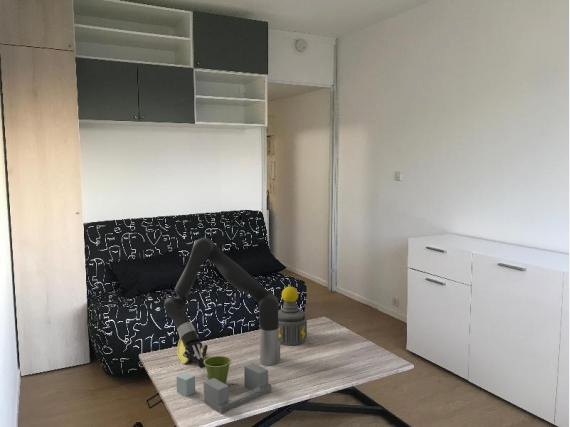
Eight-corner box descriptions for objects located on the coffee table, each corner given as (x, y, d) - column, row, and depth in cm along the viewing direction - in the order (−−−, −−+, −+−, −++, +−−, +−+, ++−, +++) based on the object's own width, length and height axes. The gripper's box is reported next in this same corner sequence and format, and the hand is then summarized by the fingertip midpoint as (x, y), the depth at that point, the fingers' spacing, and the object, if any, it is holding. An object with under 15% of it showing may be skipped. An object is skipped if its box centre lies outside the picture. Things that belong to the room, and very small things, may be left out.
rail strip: (267, 389, 202) (267, 383, 201) (271, 391, 200) (271, 384, 200) (218, 411, 184) (217, 404, 184) (221, 414, 182) (221, 406, 182)
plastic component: (207, 355, 233) (190, 351, 228) (201, 369, 232) (183, 365, 227) (195, 340, 250) (178, 335, 245) (189, 353, 249) (172, 348, 244)
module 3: (253, 382, 209) (252, 362, 208) (268, 390, 201) (268, 369, 201) (244, 386, 205) (244, 366, 204) (259, 394, 198) (259, 373, 197)
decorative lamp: (314, 339, 261) (314, 286, 258) (292, 349, 247) (291, 293, 244) (288, 331, 273) (288, 280, 270) (266, 340, 259) (265, 287, 256)
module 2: (214, 398, 194) (213, 377, 193) (228, 407, 187) (228, 385, 186) (203, 402, 191) (203, 381, 190) (218, 412, 184) (218, 390, 183)
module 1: (185, 387, 204) (185, 372, 204) (195, 391, 201) (195, 375, 200) (176, 392, 200) (176, 376, 200) (186, 396, 197) (186, 380, 196)
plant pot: (231, 391, 200) (230, 366, 199) (203, 392, 200) (202, 367, 198) (232, 379, 212) (231, 355, 211) (205, 380, 211) (204, 356, 210)
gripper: (178, 333, 214) (193, 367, 207) (202, 326, 223) (218, 359, 216) (172, 341, 218) (187, 375, 211) (196, 334, 228) (212, 367, 220)
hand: (203, 367), depth 213 cm, fingers closed
